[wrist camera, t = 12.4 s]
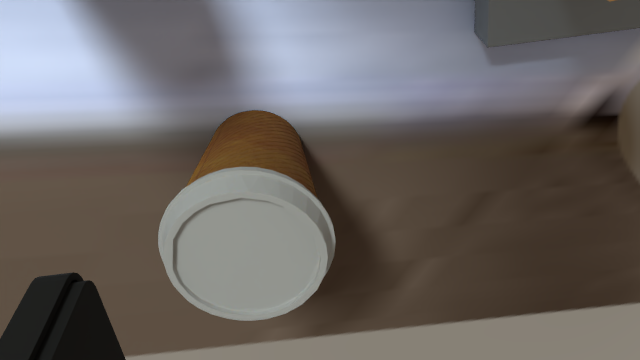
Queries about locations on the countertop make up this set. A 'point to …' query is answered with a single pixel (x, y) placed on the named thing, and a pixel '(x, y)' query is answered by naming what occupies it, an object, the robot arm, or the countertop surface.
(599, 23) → the block
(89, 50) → the countertop surface
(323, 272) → the disposable coffee cup
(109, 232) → the countertop surface
